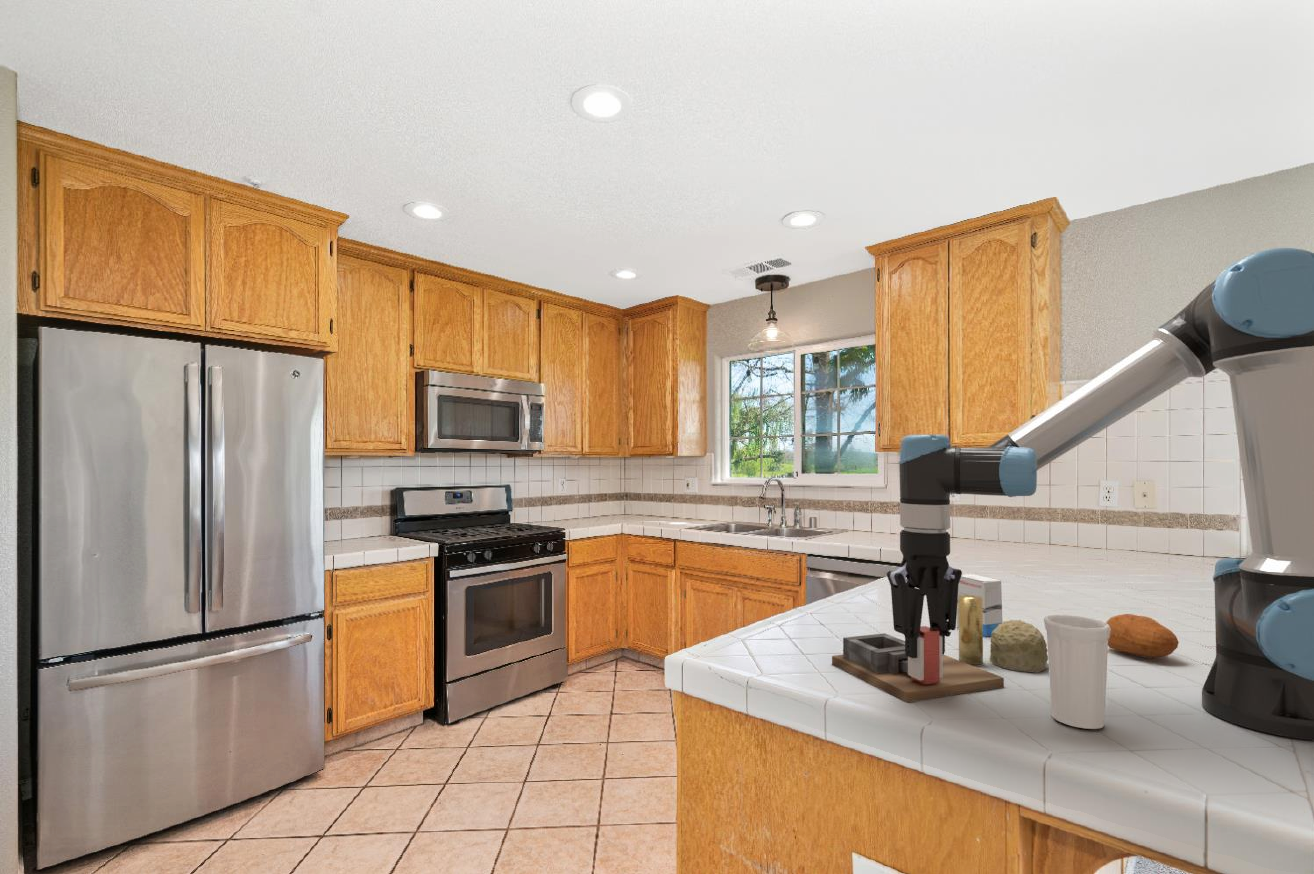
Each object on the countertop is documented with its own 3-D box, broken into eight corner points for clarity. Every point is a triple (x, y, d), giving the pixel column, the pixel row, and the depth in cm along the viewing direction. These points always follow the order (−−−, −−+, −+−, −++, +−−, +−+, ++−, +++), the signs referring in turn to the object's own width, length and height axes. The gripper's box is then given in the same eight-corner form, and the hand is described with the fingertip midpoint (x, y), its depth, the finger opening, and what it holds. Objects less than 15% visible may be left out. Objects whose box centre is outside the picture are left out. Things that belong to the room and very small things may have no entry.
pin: (939, 682, 101) (939, 630, 102) (924, 684, 100) (924, 632, 101) (895, 663, 111) (895, 615, 111) (881, 665, 110) (881, 617, 110)
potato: (1130, 646, 129) (1130, 608, 129) (1190, 663, 118) (1190, 622, 118) (1095, 649, 126) (1095, 611, 126) (1153, 667, 115) (1153, 626, 116)
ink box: (1004, 635, 135) (1003, 580, 136) (985, 637, 134) (984, 581, 134) (972, 625, 143) (972, 573, 144) (954, 627, 142) (954, 574, 142)
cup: (1031, 711, 95) (1030, 614, 95) (1083, 710, 95) (1082, 614, 96) (1070, 735, 87) (1069, 629, 87) (1127, 734, 87) (1125, 628, 88)
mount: (1003, 686, 105) (1003, 656, 105) (906, 702, 98) (906, 669, 98) (919, 653, 123) (919, 627, 123) (832, 664, 116) (832, 636, 116)
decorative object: (1041, 695, 111) (1072, 647, 111) (988, 659, 113) (1019, 612, 113) (1018, 681, 120) (1047, 638, 120) (970, 649, 122) (999, 606, 122)
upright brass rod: (988, 664, 116) (987, 598, 117) (971, 666, 115) (970, 599, 115) (970, 658, 120) (969, 594, 120) (953, 660, 118) (953, 595, 119)
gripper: (945, 525, 109) (946, 663, 109) (868, 528, 104) (868, 673, 103) (981, 530, 102) (982, 678, 102) (900, 534, 97) (901, 690, 96)
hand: (925, 675), depth 102 cm, fingers closed on pin, 3 cm apart
